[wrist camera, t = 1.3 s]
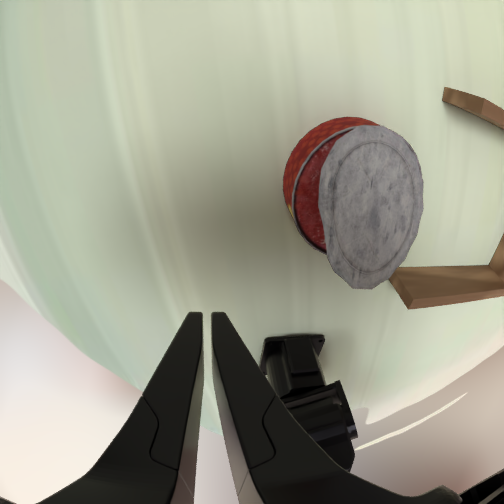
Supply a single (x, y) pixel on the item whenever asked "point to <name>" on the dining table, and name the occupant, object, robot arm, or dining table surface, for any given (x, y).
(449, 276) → the shelf bay
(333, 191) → the canned food
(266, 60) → the dining table surface
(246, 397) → the robot arm
